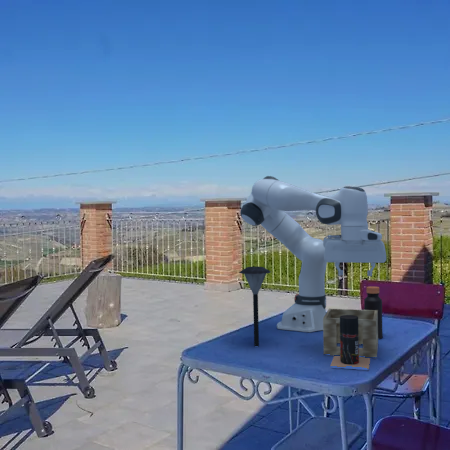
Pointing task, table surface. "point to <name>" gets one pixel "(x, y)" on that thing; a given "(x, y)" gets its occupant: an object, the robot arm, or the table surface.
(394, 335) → the table surface
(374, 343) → the crate
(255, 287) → the solar garden light
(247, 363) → the table surface
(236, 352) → the table surface
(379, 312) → the bottle
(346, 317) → the deodorant
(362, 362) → the tile
